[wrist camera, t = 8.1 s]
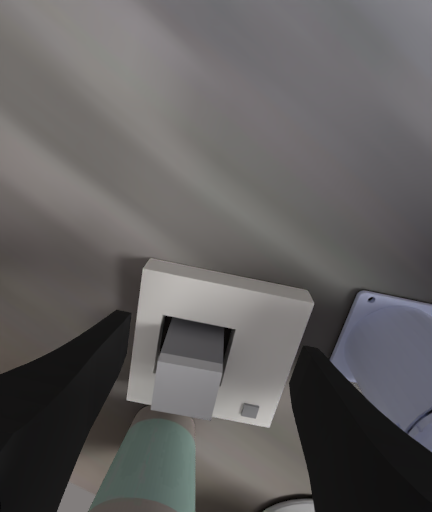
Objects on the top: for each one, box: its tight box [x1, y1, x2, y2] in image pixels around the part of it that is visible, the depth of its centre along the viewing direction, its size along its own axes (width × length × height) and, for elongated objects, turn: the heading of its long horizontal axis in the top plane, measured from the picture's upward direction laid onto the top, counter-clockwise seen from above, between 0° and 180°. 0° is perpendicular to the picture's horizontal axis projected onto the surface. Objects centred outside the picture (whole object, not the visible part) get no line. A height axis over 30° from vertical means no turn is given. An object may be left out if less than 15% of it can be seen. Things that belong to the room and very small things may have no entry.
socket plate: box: [126, 258, 315, 428], centre depth 24 cm, size 12×12×2 cm
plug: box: [151, 317, 224, 421], centre depth 22 cm, size 4×4×6 cm
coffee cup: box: [88, 405, 195, 512], centre depth 23 cm, size 8×9×12 cm
